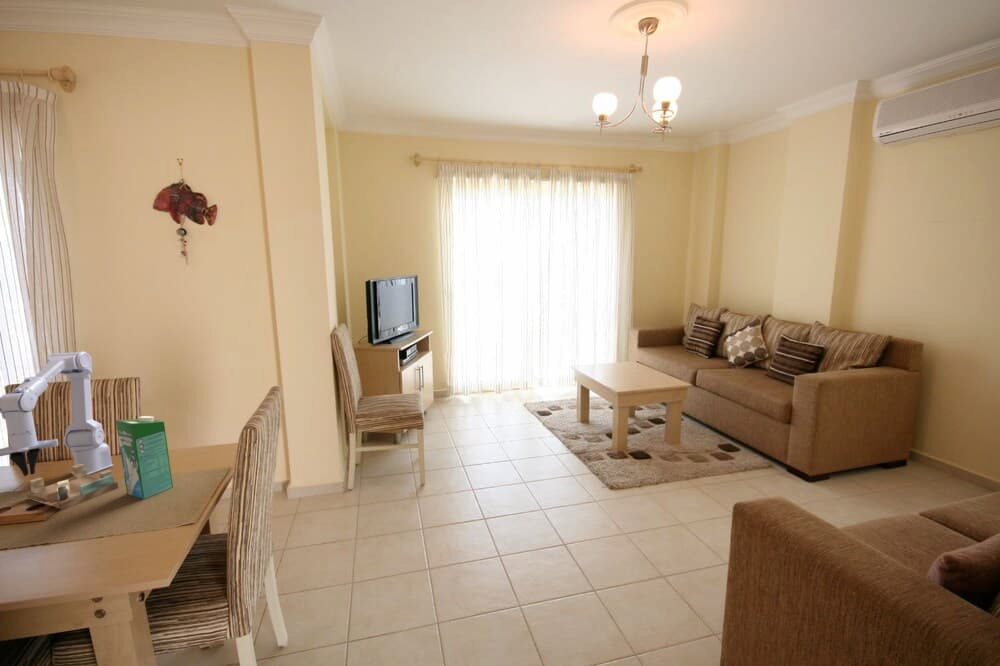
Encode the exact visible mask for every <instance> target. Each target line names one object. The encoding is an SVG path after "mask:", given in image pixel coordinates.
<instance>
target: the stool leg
mask: <svg viewBox="0 0 1000 666" xmlns="http://www.w3.org/2000/svg"><path fill="white" fill-rule="evenodd" d="M63 480H64V481H63ZM63 480H61V481H57V482H56V483H57V496H58V500H65V499H67V498H69V491H70V487H69V481H68V480H66V479H63Z"/></svg>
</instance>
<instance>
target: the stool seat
mask: <svg viewBox="0 0 1000 666" xmlns="http://www.w3.org/2000/svg"><path fill="white" fill-rule="evenodd" d="M71 469H72V471H73V474H72V477H69V478H67V479H63V480H62V481H64V480H68V481H69V487H70V491H69V498H67V499H65V500H58V496H57V483H58V482H55V483H53V484H50V485H46V486H45V480H44V478H42V477H37V478H34V479H33V478H32V479H30V480H29V486H30V489H31V490H30V492H27V493H26V495H27V499H28V498H31V499H35V500H38V501H43V502H50V503H53V502H58V503H59V507H60V509H59V510H60V511H63V510H65V509H68V508H71V507H73V506H76V505H77V504H80V503H83V502H85V500H86V501H87V500H91V499H93V498H95V496H96V497H98V496H100V495H103V494H106V493H108V492H111V491H113V490H116V489H118V488H119V483H118V481H115V480H114V473H113V470H110V469H105V470H104V471H103V470H102V471H101V472H100V471H99V476H95V475H93V474H89V475H88V474H86V470H85V465H84V464H78V465H75V464H74V465H72V466H71ZM105 492H106V493H105ZM90 498H91V499H90Z"/></svg>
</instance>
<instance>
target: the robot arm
mask: <svg viewBox="0 0 1000 666" xmlns="http://www.w3.org/2000/svg"><path fill="white" fill-rule="evenodd" d="M45 363H46V364H45V365H44V366H43V367H42V368H41V370H39V372H38V373H37V374H36V375H35V376H29V377H26V378H24V380H23V381H22V383H20V384H19V385H18V386H17V387H15V388H14V389H13V390H12V391H11V392H10V393H5V394H2V395H1V396H0V414H1V418H2V419H3V420H5V425H6V429H7V436H8V441H9V445H10V446H7V447H6V446H5V447H2V448H0V457H4V456H10V457H9V459H10V460H11V461H12V462H13V463H15V465H16V466H17V467H18V468H19V469H20V471H21V473H22V474H23V477H26V476H28V475H29V474H30V475H34V474H35V473H36V465H37V461H38V457H39V454H40V452H41V450H42V449H46V448H47V449H48V448H52V447H53V448H55V447H58V446H59V440H58V438H54V439H46V440H38V437H37V433H36V426H35V422H34V421H35V420H34V416H33V410H34V409H35V407H36V404H37V401H38V399H39V397H40V396H41V395H42V394H43V393H45V391H46V390H47V389H48V388H49V385H48V383H49V382H50V381H51V380H53V379H54V378H55V377H56V376H58V375H59V374H60V375H63V376H66V377H68V378H69V379H70V390H71V393H70V394H71V407H72V408H71V409H72V423H71V424H69V425H68V426H66V427H65V434H64V436H63V444H64V446H65V447H66V448H68V449H69V450H70V451H72V455H73V461H74V466H75V465H78V464H84V465H85V470H86V474H88V475H93V474H94V473H97V472H100V471H103V470H107V469H109V468H111V467H113V466H114V464H113V463H112V457H111V450H110V447H109V445H108V444H107V443H106V442H104V440H105V436H106V435H105V431H104V429H103V424H102V423H101V422H98V421H96V420H94V419H93V405H92V403H93V402H92V387H91V386H92V384H91V383H92V382H91V374H92V373H93V362H92V356H91V355H90V354H89V353H88V352H86V351H83V350H82V351H75V352H53V353H51V354H50V355H49V356H48V357H47V358H46V361H45ZM26 452H27V453H26ZM26 457H27V461H28V464H29V468H28V464H27V461H26ZM70 474H71V475H73V470H72V471H71V472H70Z"/></svg>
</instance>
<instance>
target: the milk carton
mask: <svg viewBox="0 0 1000 666" xmlns="http://www.w3.org/2000/svg"><path fill="white" fill-rule="evenodd" d="M115 423H116V429H117V431H116V432H117V435H118V436H117V438H118V444H119V450H120V457H121V463H122V469H123V475H124V482H125V483H124V484H125V488H126V489H125V491H126V494H127V495H129V496H132V497H135V498H139V499H141V500H144V499H147V498H149V497H152V496H154V495H156V494H158V493H161V492H163V491H167V490H168V489H170V488H173V487H174V484H173V477H172V469H171V464H170V463H171V462H170V456H169V447H168V440H167V432H166V426H165V425H166V424H165V421H162V420H157V419H155V417H154V416H152V415H149V416H148V415H144V416H143V415H142V416H139V417H138V418H133V419H131V418H130V419H119V420H117V419H116V420H115Z"/></svg>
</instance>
